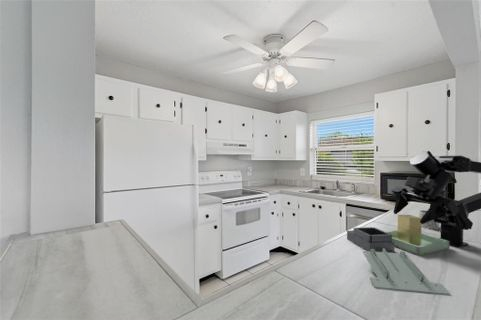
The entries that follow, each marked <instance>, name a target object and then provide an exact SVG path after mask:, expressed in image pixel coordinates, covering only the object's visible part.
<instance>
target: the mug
mask: <svg viewBox="0 0 481 320" xmlns="http://www.w3.org/2000/svg"><path fill="white" fill-rule="evenodd" d="M427 211H428V210H424V209H423V210H421V209H420V210H419V211H418V217H419V218H422V217H423V216H424V214H425V213H426V212H427ZM422 227H423V228H422ZM421 228H422V229H426V228H429V229H428V230H431V229H439V230H440V223H437V222H434V220H431V221H429V222H426V223H424V224H421Z"/></svg>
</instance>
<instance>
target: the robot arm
mask: <svg viewBox="0 0 481 320" xmlns="http://www.w3.org/2000/svg"><path fill="white" fill-rule="evenodd" d="M409 163H410V165H412V167H414V169H416V170H417V171H418V172H419V173H420V174H421V175H422V176H426V177H425V178H424V179H422V178H419V177H412V176H408V177H407V178H406V180H405V183H404V186H405V187H401V186H394V187H393V188H392V189H391V190H390V191H391V192H392V193H391V194H393V196H394V197H395V202H394V203H395V204H394V208H393V214H394V215H398V214H399V213H400V212H401V211H402V210H404V208H406V207H407V206H408V205H409V202H412V200H414V201H418V202H421V203H425V204H429V208H428V209H427V210H426V211H427V212H426V213H425V214H424V216H423V217H422V218H421V220H420V223H421V224H424V223H426V222H429V221H431V220H434V222H437V223H439V224H440V237H439V238H440V239H443V240H447V241H450V245H449V246H453V247H456V248H457V247H458V248H460V247H465V246H469V245H470V244H469V242H465V241H464V230H466V231H468V230H471V229H472V228H473V225H474V223H473V221H472V220H471V219H470V218H469V215H470V214H471V213H474V212H476V211H479V210H481V192H478V193H475V194H473V195H470V196H467V197H465V198H462V199H452V198H449V197H447V196H443V195H444V194H445V193H444V191H443V190H444V188H446V187H447V185H448V184H457V179H456V177H455V175H454V174H451V173H475V174H481V162H480V161H476V160H472V159H471V158H469V157H466V156H464V155H440V156H439V157H438V158H436V157H435V156H434V155H433V154H432V152H431V151H430V150H423V151H421V153H418V154H416V155H414V156H413V157H411V159H410V160H409ZM406 187H409V188H410V191H411V192H412V193H411V192H409V191H408V189H407V188H406Z"/></svg>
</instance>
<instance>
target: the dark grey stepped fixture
mask: <svg viewBox="0 0 481 320" xmlns="http://www.w3.org/2000/svg"><path fill="white" fill-rule="evenodd" d="M346 239H347V240H348V241H350V242H351V243H353V244H354V245H357V246H358V247H360V248H361V249H362V250H364V251H371V249H374V250H375V252H382V251H383V248H384V249H385V250H386V252H387V253H395V247H394V242H393V241H392V235H391V234H389V233H387V232H385V231H383V230H381V229H380V228H377V227H372V226H370V227H369V226H368V227H354V228H353V230H347V231H346Z"/></svg>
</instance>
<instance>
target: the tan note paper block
mask: <svg viewBox="0 0 481 320" xmlns="http://www.w3.org/2000/svg"><path fill="white" fill-rule="evenodd" d="M420 220H421V218H419V216H416V215H411V214H397V230H398V240H401V241H404V242H407V243H410V244H413V245H421V233H422V227H421V223H420Z"/></svg>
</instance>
